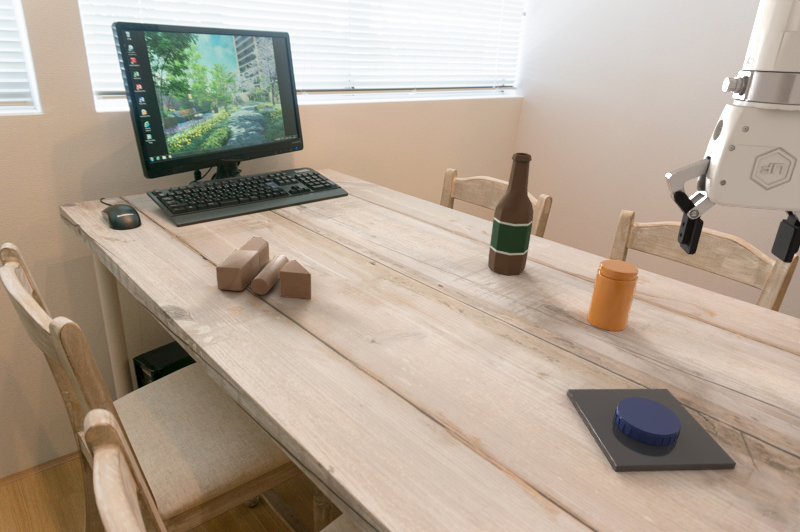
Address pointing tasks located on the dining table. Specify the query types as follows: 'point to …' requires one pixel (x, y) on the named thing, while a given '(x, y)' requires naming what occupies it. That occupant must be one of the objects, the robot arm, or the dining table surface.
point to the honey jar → (612, 295)
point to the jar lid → (647, 421)
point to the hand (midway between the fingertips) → (733, 254)
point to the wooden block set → (247, 265)
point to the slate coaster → (633, 455)
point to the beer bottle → (512, 222)
